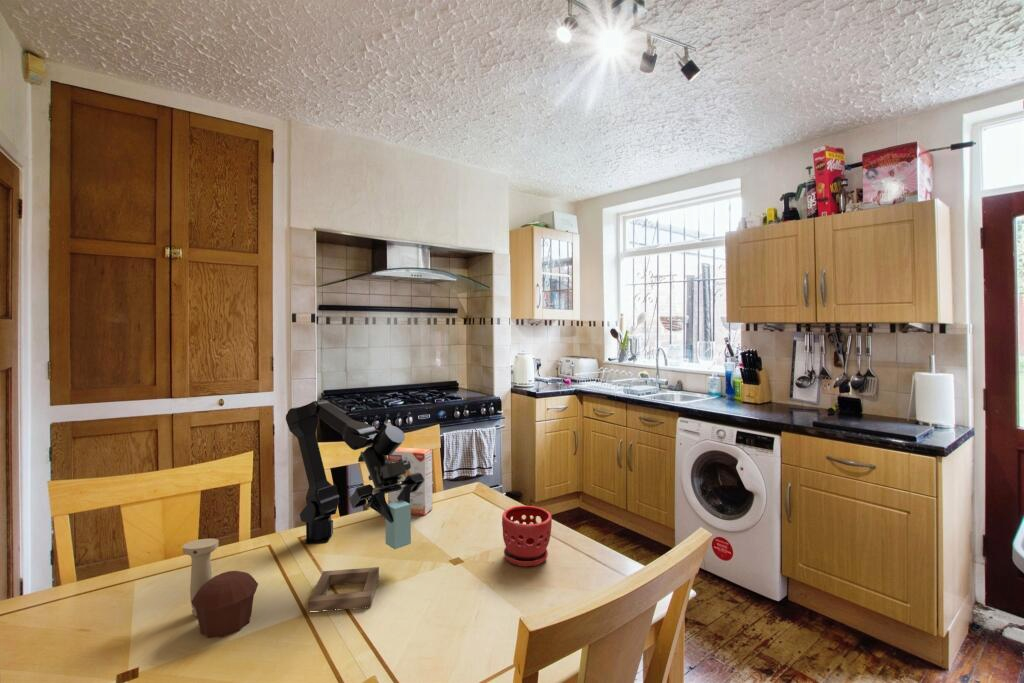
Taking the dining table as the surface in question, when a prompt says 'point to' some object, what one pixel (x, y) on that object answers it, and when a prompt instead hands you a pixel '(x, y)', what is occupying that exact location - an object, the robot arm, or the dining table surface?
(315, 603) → the socket collar
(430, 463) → the cracker box
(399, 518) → the peg
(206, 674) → the dining table surface
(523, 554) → the plant pot
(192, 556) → the handle
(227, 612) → the muffin
